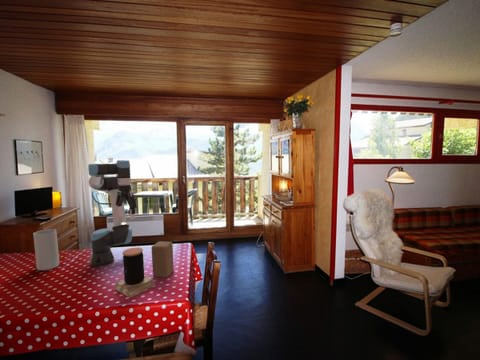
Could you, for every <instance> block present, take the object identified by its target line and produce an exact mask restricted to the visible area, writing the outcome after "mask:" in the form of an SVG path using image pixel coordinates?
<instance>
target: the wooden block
mask: <svg viewBox="0 0 480 360" xmlns="http://www.w3.org/2000/svg"><path fill="white" fill-rule="evenodd" d="M173 248H174V246H173V242H172V241H161V240H160V241H158V242H156V243H155V244H153V245H151V263H152V264H151V265H152V276H153V277H156V278H168V277H169V276H170V275H171V274H172V273H173V272H174V267H175V265H174V251H173V250H174V249H173Z"/></svg>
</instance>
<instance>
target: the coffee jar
mask: <svg viewBox="0 0 480 360" xmlns="http://www.w3.org/2000/svg"><path fill="white" fill-rule="evenodd" d="M143 250H144V249H143V248H142V247H130V248H127V249H124V250H123V251H122V265H123V266H122V267H123V278H124V279H123V280H124V281H125V283H126V284H127V285H136V284H139V283H141V282H142V281H143V279H144V276H145V262H144V261H145V260H144V253H143Z"/></svg>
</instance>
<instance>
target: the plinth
mask: <svg viewBox="0 0 480 360" xmlns="http://www.w3.org/2000/svg"><path fill="white" fill-rule="evenodd" d="M153 287H155V280H154V279H152V278H151V277H149V276H146V275H144V279H143V281H142V282H141V283H139V284H136V285H127V284H126V283H125V281H124V279H122V280H120V281H117V282H116V283H115V290H116V291H118V292H120V293H121V294H122V295H125V296H127V297H128V298H133V297H134V296H136V295H137V296H138V295H139V294H140V293H143V292H144V291H147V290H149V289H150V288H153Z"/></svg>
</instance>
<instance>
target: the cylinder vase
mask: <svg viewBox="0 0 480 360" xmlns="http://www.w3.org/2000/svg"><path fill="white" fill-rule="evenodd" d="M32 234H33V235H32V237H33V244H34V252H35V253H34V254H35V261H36V262H35V264H36V270H38V271H41V270H42V271H49V270H52V269H54V268H55V269H56V268H57V267H59V266H60V255H59V247H58V235H57V229H56V228H48V229H47V228H46V229H42V230H38V231H36V232H33V233H32Z"/></svg>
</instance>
